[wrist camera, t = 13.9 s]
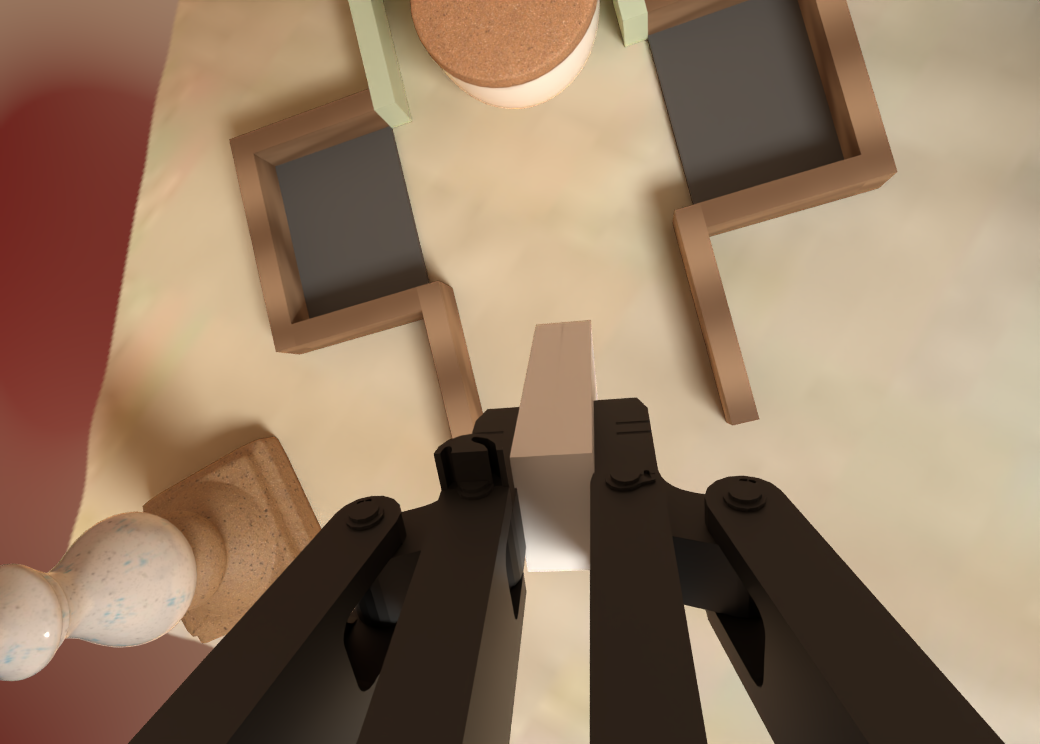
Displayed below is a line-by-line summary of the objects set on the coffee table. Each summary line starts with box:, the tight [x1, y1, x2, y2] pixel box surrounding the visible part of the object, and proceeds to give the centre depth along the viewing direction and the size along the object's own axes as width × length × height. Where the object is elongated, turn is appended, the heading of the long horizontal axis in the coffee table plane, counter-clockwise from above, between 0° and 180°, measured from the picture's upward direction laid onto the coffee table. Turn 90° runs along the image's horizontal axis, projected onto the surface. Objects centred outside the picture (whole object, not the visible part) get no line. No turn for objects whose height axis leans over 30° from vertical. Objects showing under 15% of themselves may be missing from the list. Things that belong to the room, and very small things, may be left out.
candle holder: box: [0, 437, 321, 681], centre depth 35 cm, size 11×11×24 cm
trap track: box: [229, 0, 897, 439], centre depth 40 cm, size 36×39×6 cm
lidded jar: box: [410, 0, 600, 109], centre depth 39 cm, size 11×11×9 cm
